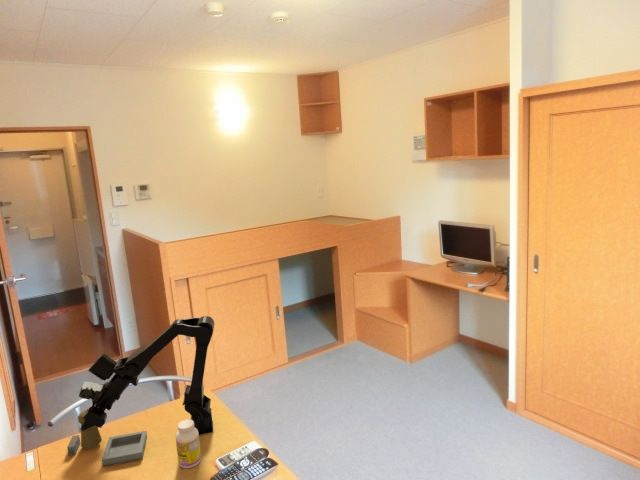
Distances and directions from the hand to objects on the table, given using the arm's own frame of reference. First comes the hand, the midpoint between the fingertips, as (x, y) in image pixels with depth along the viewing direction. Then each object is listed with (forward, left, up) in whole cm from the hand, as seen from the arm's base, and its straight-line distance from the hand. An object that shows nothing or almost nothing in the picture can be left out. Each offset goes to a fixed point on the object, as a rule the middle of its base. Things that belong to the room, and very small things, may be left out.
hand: (83, 425), depth 143 cm
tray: (-13, +6, -8) cm, 16 cm away
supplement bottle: (-33, +18, -8) cm, 38 cm away
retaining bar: (+4, 0, -8) cm, 9 cm away
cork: (-1, 0, -7) cm, 7 cm away
